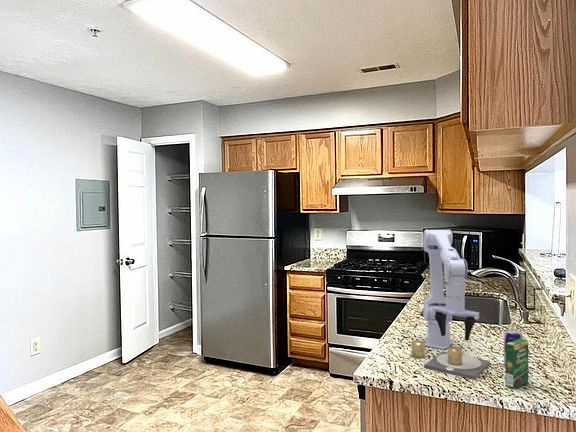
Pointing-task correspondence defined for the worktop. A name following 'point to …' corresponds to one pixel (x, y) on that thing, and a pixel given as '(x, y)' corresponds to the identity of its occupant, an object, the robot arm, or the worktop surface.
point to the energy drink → (510, 339)
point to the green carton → (516, 363)
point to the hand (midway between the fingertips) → (455, 337)
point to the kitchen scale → (468, 368)
